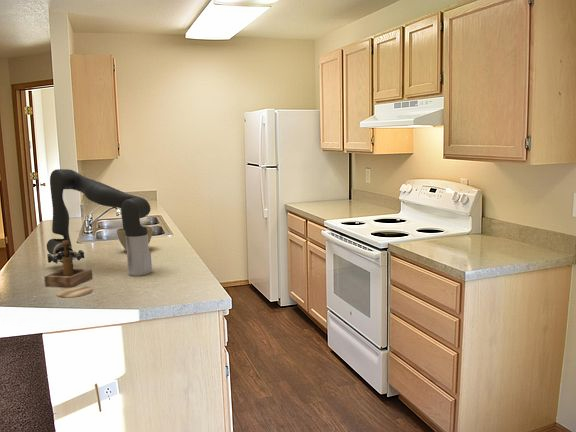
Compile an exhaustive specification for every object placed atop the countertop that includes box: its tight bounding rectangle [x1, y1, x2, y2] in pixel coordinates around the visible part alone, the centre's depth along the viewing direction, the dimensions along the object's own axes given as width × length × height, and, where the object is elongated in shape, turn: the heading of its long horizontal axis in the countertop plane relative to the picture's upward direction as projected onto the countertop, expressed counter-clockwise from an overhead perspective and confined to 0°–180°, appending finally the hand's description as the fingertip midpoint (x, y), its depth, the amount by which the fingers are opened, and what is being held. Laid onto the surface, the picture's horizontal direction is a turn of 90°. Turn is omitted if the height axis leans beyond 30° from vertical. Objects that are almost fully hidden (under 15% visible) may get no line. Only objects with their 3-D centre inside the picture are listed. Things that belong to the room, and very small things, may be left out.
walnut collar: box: [44, 268, 93, 288], centre depth 215 cm, size 12×14×4 cm
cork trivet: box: [56, 285, 94, 299], centre depth 200 cm, size 13×13×1 cm
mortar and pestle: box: [61, 240, 74, 276], centre depth 214 cm, size 7×6×18 cm
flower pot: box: [116, 225, 153, 251], centre depth 272 cm, size 18×18×12 cm
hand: (67, 259), depth 212 cm, fingers open, 8 cm apart
